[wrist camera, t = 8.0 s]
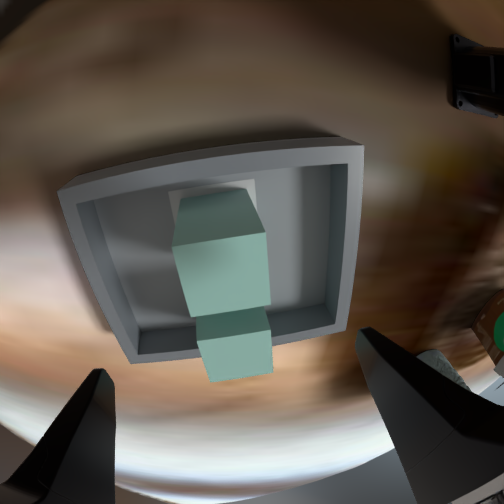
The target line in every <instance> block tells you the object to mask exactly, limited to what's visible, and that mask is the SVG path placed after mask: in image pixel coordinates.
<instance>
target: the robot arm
mask: <svg viewBox="0 0 504 504" xmlns="http://www.w3.org/2000/svg"><path fill="white" fill-rule="evenodd" d="M450 41H451V52H452V66H453V103H454V107H455V108H456V109H460V110H464V111H469V112H473V113H477V114H481V115H485V116H489V117H493V118H497V117H498V115H502V116H504V48H497V47H484V46H482V45H480V44H478V43H476V42H473V41H471V40H469V39H467V38H465V37H462V36H460V35H458V34H451V36H450ZM355 350H356V353H357V356H358V359H359V362H360V365H361V368H362V371H363V374H364V377H365V380H366V383H367V385H368V388H369V390H370V392H371V394H372V397H373V399H374V401H375V403H376V405H377V408H378V410H379V412H380V414H381V417H382V419H383V421H384V423H385V426H386V428H387V430H388V432H389V435H390V437H391V439H392V442H393V444H394V446H395V449H396V451H397V454H398V456H399V458H400V461H401V463H402V466H403V468H404V470H405V473H406V475H407V478H408V480H409V483H410V486H411V488H412V491H413V493H414V496H415V499H416V501H417V504H448V503H450V502H452V504H504V406H500V405H497V404H495V403H493V402H491V401H489V400H487V399H485V398H483V397H481V396H479V395H477V394H475V393H473V392H471V391H469V390H467V389H466V388H464V387H462V386H460V385H459V384H457V383H455V382H454V381H452V380H451V379H449V378H448V377H446V376H444V375H442V374H441V373H440V372H438V371H437V370H435V369H434V368H432V367H431V366H429V365H428V364H426V363H425V362H423V361H422V360H420V359H419V358H417V357H416V356H414V355H413V354H411V353H409V352H408V351H406V350H405V349H403V348H402V347H400V346H399V345H397V344H396V343H394V342H393V341H391V340H390V339H388V338H387V337H385V336H384V335H382V334H381V333H379V332H378V331H376V330H375V329H373V328H371V327H364V328H361V329H359V330H358V333H357V338H356V342H355ZM115 434H116V412H115V386H114V382H113V380H112V379H111V378H110V376H109V375H108V373H107V372H106V370H105V369H103V368H96V369H93V370H92V371H91V372H90V374H89V375H88V376H87V377H86V379H85V380H84V381H83V383H82V384H81V385H80V387H79V388H78V389H77V390H76V392H75V393H74V394H73V396H72V397H71V398H70V400H69V401H68V402H67V404H66V405H65V406H64V408H63V409H62V410H61V412H60V413H59V414H58V416H57V417H56V418H55V420H54V421H53V423H52V424H51V425H50V427H49V428H48V430H47V431H46V432H45V434H44V436H42V438H41V439H40V441H39V442H38V443H37V445H36V446H35V447H34V449H33V450H32V452H31V453H30V454H29V455H28V457H27V458H26V459H25V460H24V461H23V462H22V464H21V465H20V466H19V467H18V468H17V470H16V471H15V472H14V473H13V475H11V476H10V478H9V479H8V480H6V481H5V482H3V483H1V484H0V504H115Z"/></svg>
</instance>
